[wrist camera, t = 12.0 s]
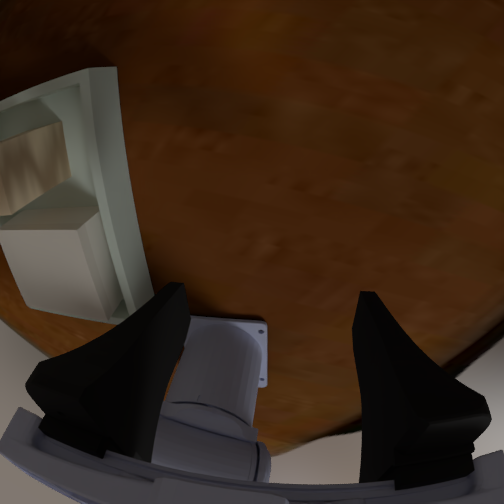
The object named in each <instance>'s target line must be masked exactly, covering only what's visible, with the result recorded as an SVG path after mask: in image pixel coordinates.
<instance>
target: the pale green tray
mask: <svg viewBox="0 0 504 504" xmlns="http://www.w3.org/2000/svg"><path fill="white" fill-rule="evenodd" d="M60 121H62V124H63V131H64V137H65V143H66V149H67V155H68V160H69V165H70V170H71V175H72V177H70V178H68V179H67V180H65V181H63V182H62V183H60V184H58V185H57V186H55V187H53V188H52V189H50V190H49V191H47V192H45V193H44V194H42V195H41V196H39V197H38V198H36V199H35V200H33V201H32V202H30V203H28V204H27V205H26V206H24V207H23V208H21V209H20V210H18V211H17V212H15V213H14V214H12V215H6V216H0V227H1V226H2V225H4V224H5V223H6V222H8V221H9V220H10V219H12V218H13V217H15V216H16V215H17V214H19V213H20V212H22V211H23V210H32V209H48V208H66V207H88V206H99V210H100V214H101V218H102V222H103V227H104V231H105V234H106V238H107V242H108V246H109V250H110V253H111V257H112V261H113V264H114V267H115V271H116V274H117V278H118V281H119V284H120V287H121V291H122V294H123V297H124V298H123V299H122V301H121V302H120V304H119V305H118V307H117V308H116V310H115V311H114V313H113V314H112V316H111V317H110V319H109V320H108V321H104V320H98V319H92V318H86V317H80V316H75V315H70V314H64V313H59V312H54V311H49V310H44V309H40V308H35V307H30V306H29V307H30V308H32V309H37V310H41V311H46V312H51V313H55V314H60V315H65V316H71V317H76V318H81V319H87V320H93V321H98V322H104V323H110V324H117V325H118V324H120V323H121V322H123V321H124V320H125V319H126V318H128V317H129V316H130V315H132V314H133V313H134V312H135V311H137V310H138V309H139V308H140V307H142V306H143V305H144V304H145V303H146V302H147V301H149V300H150V299H151V298H152V297H153V296H154V291H153V287H152V283H151V279H150V275H149V271H148V267H147V263H146V258H145V254H144V249H143V245H142V240H141V235H140V231H139V226H138V221H137V216H136V211H135V205H134V200H133V194H132V189H131V183H130V177H129V170H128V164H127V157H126V150H125V143H124V136H123V128H122V119H121V110H120V100H119V90H118V78H117V67H97V68H87V69H83V70H80V71H77V72H74V73H71V74H68V75H65V76H62V77H59V78H56V79H53V80H50V81H48V82H45V83H42V84H40V85H37V86H34V87H32V88H29V89H27V90H25V91H22V92H20V93H17V94H15V95H13V96H11V97H8V98H6V99H4V100H2V101H0V141H2V140H4V139H7V138H9V137H12V136H14V135H17V134H20V133H22V132H25V131H28V130H31V129H35V128H38V127H42V126H45V125H49V124H52V123H56V122H60Z"/></svg>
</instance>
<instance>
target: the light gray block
mask: <svg viewBox="0 0 504 504" xmlns="http://www.w3.org/2000/svg"><path fill="white" fill-rule="evenodd" d="M0 244H1V246H2V249H3V252H4V254H5V257H6V259H7V262H8V264H9V267H10V269H11V272H12V274H13V276H14V279H15V281H16V283H17V286H18V288H19V290H20V292H21V294H22V296H23V299H24V301H25V303H26V305H27V306H30V307H35V308H40V309H44V310H49V311H54V312H59V313H64V314H70V315H75V316H80V317H86V318H92V319H98V320H104V321H108V320H109V319H110V317H111V316H112V314H113V313H114V311H115V310H116V308H117V307H118V305H119V304H120V302H121V301H122V299H123V298H124V297H123V294H122V291H121V287H120V284H119V281H118V278H117V274H116V271H115V267H114V264H113V261H112V257H111V253H110V250H109V246H108V242H107V238H106V234H105V231H104V227H103V222H102V218H101V214H100V210H99V206H88V207H66V208H48V209H32V210H23V211H22V212H20V213H19V214H17V215H16V216H15V217H13V218H12V219H10V220H9V221H8V222H6V223H5V224H4V225H2V226H1V227H0Z"/></svg>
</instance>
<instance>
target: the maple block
mask: <svg viewBox="0 0 504 504" xmlns="http://www.w3.org/2000/svg"><path fill="white" fill-rule="evenodd" d="M70 177H72V175H71V170H70V165H69V160H68V155H67V149H66V143H65V137H64V131H63V124H62V121H60V122H56V123H52V124H49V125H45V126H42V127H38V128H35V129H31V130H28V131H25V132H22V133H20V134H17V135H14V136H12V137H9V138H7V139H4V140H2V141H0V216H6V215H12V214H14V213H15V212H17V211H18V210H20V209H21V208H23V207H24V206H26V205H27V204H28V203H30V202H32V201H33V200H35V199H36V198H38V197H39V196H41V195H42V194H44V193H45V192H47V191H49V190H50V189H52V188H53V187H55V186H57V185H58V184H60V183H62V182H63V181H65V180H67V179H68V178H70Z"/></svg>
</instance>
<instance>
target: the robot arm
mask: <svg viewBox="0 0 504 504" xmlns="http://www.w3.org/2000/svg"><path fill="white" fill-rule="evenodd" d="M260 330H263V331H260ZM352 336H353V351H354V357H355V363H356V369H357V375H358V381H359V387H360V393H361V403H362V448H361V466H360V477H359V483H354V484H330V485H329V484H328V485H307V484H303V485H302V484H279V483H268V482H269V477H270V472H271V457H270V453H269V451H268V450H267V447H266V445H265V444H264V443H263V442H259V441H257V434H258V429H256V428H253V427H252V424H253V417H254V411H255V404H256V397H257V391H258V387H266V386H267V323H266V322H264V321H257V320H241V319H227V318H214V317H202V316H191V315H190V311H189V307H188V302H187V297H186V292H185V286H184V283H177V282H170V283H169V284H167V285H166V286H165V287H164V288H163V289H161V290H160V291H159V292H158V293H157V294H156V295H154V296H153V297H152V298H151V299H150V300H149V301H147V302H146V303H145V304H144V305H143V306H142V307H140V308H139V309H138V310H137V311H135V312H134V313H133V314H132V315H130V316H129V317H128V318H126V319H125V320H124V321H123V322H121V323H120V324H118V325H117V326H116V327H114V328H113V329H111V330H109V331H108V332H106V333H105V334H103V335H101V336H100V337H98V338H96V339H94V340H92V341H90V342H89V343H87V344H85V345H83V346H81V347H79V348H76V349H74V350H72V351H70V352H67V353H65V354H62V355H59V356H56V357H53V358H50V359H47V360H44V361H41V362H39V363H38V365H37V366H36V368H35V369H34V371H33V372H32V374H31V375H30V377H29V379H28V380H27V382H26V384H25V387H26V390H27V392H28V394H29V395H30V396H31V398H32V399H33V400H34V401H35V403H36V404H37V405H38V406H39V407H40V408H41V410H42V411H43V412H44V413H45V416H44V417H43V419H42V418H40V417H39V416H37V415H36V414H34V413H31V412H30V411H27V410H25V409H23V408H21V407H19V408H18V410H17V411H16V413H15V415H14V416H13V418H12V420H11V422H10V423H9V425H8V427H7V429H6V431H5V432H4V434H3V436H2V438H1V440H0V454H1V455H3V456H4V457H5V458H6V459H8V460H9V461H10V462H11V463H13V464H14V465H15V466H17V467H18V468H19V469H21V470H22V471H23V472H25V473H26V474H28V475H29V476H31V477H32V478H34V479H36V480H38V481H39V482H41V483H43V484H45V485H46V486H48V487H50V488H52V489H54V490H55V491H57V492H59V493H61V494H63V495H65V496H67V497H69V498H71V499H73V500H75V501H77V502H79V503H81V504H504V453H503V450H499V451H496V452H492V453H489V454H485V455H482V456H479V457H477V458H475V459H474V460H473V459H472V454H471V453H473V452H474V450H475V447H474V444H473V442H474V441H475V440H476V439H477V438H478V437H479V436H480V435H481V434H482V433H483V432H484V431H485V430H486V429H487V427H488V426H489V425H490V422H491V420H492V418H491V414H490V411H489V407H488V404H487V402H486V399H485V397H484V396H483V395H481V394H479V393H477V392H476V391H474V390H472V389H470V388H468V387H467V386H465V385H464V384H462V383H461V382H459V381H458V380H456V379H455V378H454V377H452V376H451V375H449V374H448V373H447V372H446V371H444V370H443V369H442V368H441V367H439V366H438V365H437V364H436V363H435V362H434V361H432V360H431V359H430V358H429V357H428V356H427V355H426V354H425V353H424V352H423V351H422V350H421V349H420V348H419V347H418V346H417V345H416V344H415V343H414V342H413V341H412V340H411V338H410V337H409V336H408V335H407V334H406V333H405V331H404V330H403V329H402V328H401V326H400V325H399V324H398V322H397V321H396V320H395V319H394V317H393V316H392V315H391V313H390V312H389V311H388V309H387V308H386V306H385V305H384V304H383V302H382V301H381V299H380V298H379V297H378V295H377V294H376V293H375V292H370V291H360V294H359V299H358V304H357V309H356V313H355V318H354V322H353V326H352ZM183 345H184V347H185V348H184V351H183V354H182V356H181V359H180V362H179V364H178V367H177V370H176V373H175V375H174V378H173V381H172V383H171V386H170V389H169V391H168V394H167V397H166V400H165V401H163V399H164V396H165V392H166V388H167V385H168V383H169V380H170V377H171V375H172V372H173V370H174V368H175V365H176V363H177V360H178V358H179V355H180V353H181V350H182V348H183Z"/></svg>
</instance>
